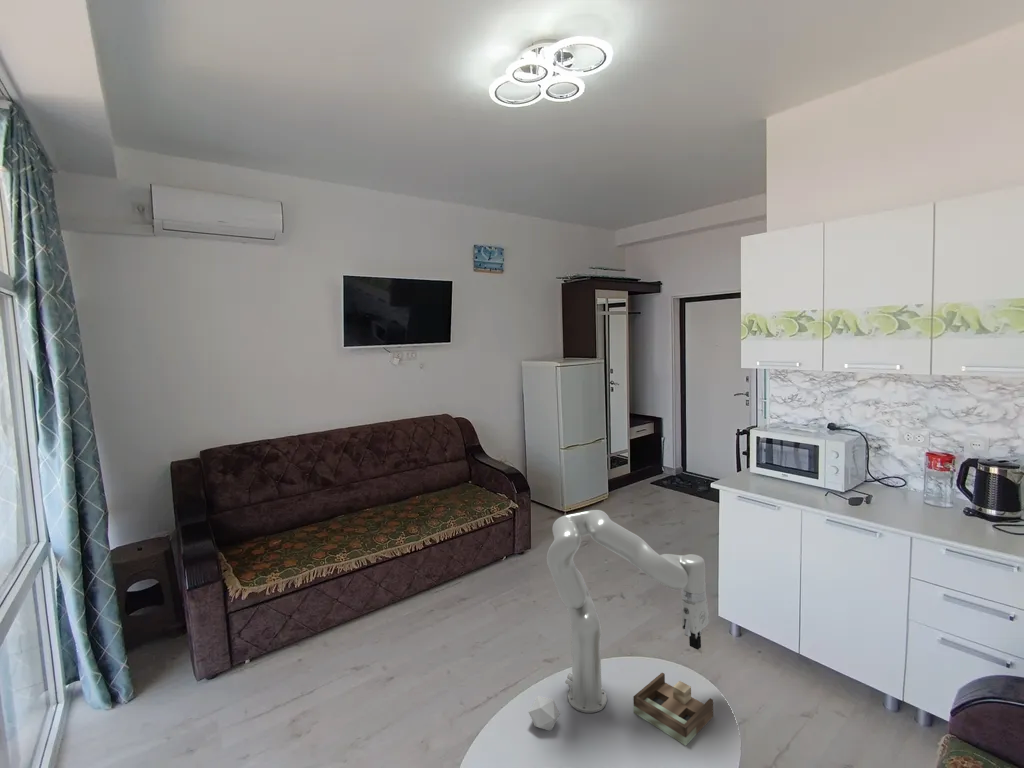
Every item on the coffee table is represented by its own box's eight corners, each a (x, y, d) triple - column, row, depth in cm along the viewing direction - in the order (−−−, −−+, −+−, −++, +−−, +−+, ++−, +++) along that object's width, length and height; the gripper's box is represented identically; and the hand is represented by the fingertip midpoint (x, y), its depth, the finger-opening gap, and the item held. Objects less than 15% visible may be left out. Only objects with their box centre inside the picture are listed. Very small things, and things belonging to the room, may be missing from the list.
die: (563, 721, 155) (550, 687, 159) (563, 727, 147) (549, 691, 151) (539, 734, 154) (526, 699, 159) (537, 740, 146) (524, 704, 151)
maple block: (673, 698, 159) (673, 686, 158) (679, 692, 161) (679, 680, 161) (684, 704, 156) (684, 692, 155) (691, 698, 158) (691, 686, 158)
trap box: (633, 712, 157) (633, 696, 156) (662, 687, 167) (662, 672, 167) (685, 745, 143) (685, 728, 143) (713, 716, 154) (713, 699, 153)
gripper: (692, 606, 153) (694, 662, 155) (715, 589, 163) (717, 641, 165) (670, 598, 159) (672, 652, 161) (694, 581, 169) (696, 632, 170)
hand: (695, 646), depth 163 cm, fingers closed
